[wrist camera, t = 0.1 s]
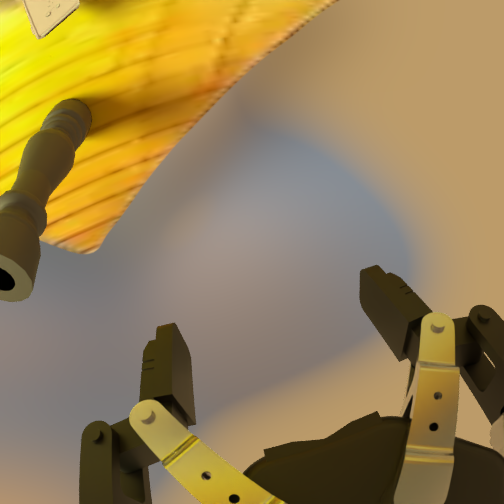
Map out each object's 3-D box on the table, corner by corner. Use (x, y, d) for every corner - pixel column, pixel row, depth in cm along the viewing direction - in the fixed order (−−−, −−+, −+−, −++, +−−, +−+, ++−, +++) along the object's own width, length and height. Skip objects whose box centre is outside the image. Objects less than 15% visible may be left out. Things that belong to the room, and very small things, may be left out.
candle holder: (70, 149, 33) (16, 312, 18) (40, 121, 29) (-45, 276, 13) (101, 120, 32) (51, 281, 16) (71, 89, 27) (-22, 233, 12)
